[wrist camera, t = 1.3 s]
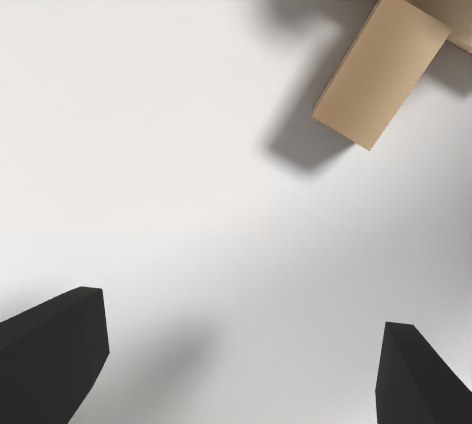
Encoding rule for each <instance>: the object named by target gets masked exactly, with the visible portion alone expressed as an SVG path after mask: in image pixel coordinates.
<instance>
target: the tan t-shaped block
mask: <svg viewBox="0 0 472 424" xmlns="http://www.w3.org/2000/svg"><path fill="white" fill-rule="evenodd" d="M445 40H448V41H449V42H451V43H453V44H454V45H456V46H458V47H460V48H461V49H463V50H465V51H466V52H468V53H470V54H472V0H378V1H377V3H376V4H375V6H374V8H373V9H372V11H371V13H370V14H369V16H368V18H367V19H366V21H365V23H364V24H363V26H362V28H361V29H360V31H359V33H358V34H357V36H356V38H355V39H354V41H353V43H352V44H351V46H350V48H349V49H348V51H347V53H346V54H345V56H344V58H343V59H342V61H341V63H340V64H339V66H338V68H337V69H336V71H335V73H334V74H333V76H332V78H331V79H330V81H329V83H328V84H327V86H326V88H325V89H324V91H323V93H322V94H321V96H320V98H319V99H318V101H317V103H316V104H315V106H314V108H313V111H312V115H311V117H312V118H314V119H316V120H317V121H319V122H321V123H323V124H324V125H326V126H328V127H329V128H331V129H333V130H335V131H336V132H338V133H340V134H341V135H343V136H345V137H347V138H348V139H350V140H352V141H353V142H355V143H357V144H359V145H360V146H362V147H364V148H365V149H367V150H369V151H370V150H371V148H372V147H373V145H374V144H375V143H376V141H377V140H378V138H379V137H380V135H381V134H382V132H383V131H384V129H385V128H386V126H387V125H388V124H389V122H390V121H391V119H392V118H393V116H394V115H395V113H396V112H397V110H398V109H399V108H400V106H401V105H402V103H403V102H404V100H405V99H406V97H407V96H408V94H409V93H410V92H411V90H412V89H413V87H414V86H415V84H416V83H417V81H418V80H419V78H420V77H421V75H422V74H423V73H424V71H425V70H426V68H427V67H428V65H429V64H430V62H431V61H432V59H433V58H434V57H435V55H436V54H437V52H438V51H439V49H440V48H441V46H442V45H443V43H444V42H445Z"/></svg>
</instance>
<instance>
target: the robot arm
mask: <svg viewBox="0 0 472 424" xmlns="http://www.w3.org/2000/svg"><path fill="white" fill-rule="evenodd" d="M109 353H110V352H109V343H108V334H107V326H106V317H105V308H104V299H103V291H102V289H99V288H90V287H82V286H81V287H78V288H76V289H73V290H70V291H68V292H66V293H63V294H61V295H59V296H57V297H54V298H52V299H50V300H48V301H46V302H44V303H42V304H39V305H37V306H35V307H33V308H31V309H29V310H27V311H25V312H22V313H20V314H18V315H16V316H14V317H12V318H10V319H7V320H5V321H3V322H1V323H0V424H68V422H69V421H70V419H71V418H72V416H73V415H74V413H75V412H76V410H77V409H78V408H79V406H80V405H81V403H82V402H83V400H84V399H85V397H86V396H87V394H88V393H89V391H90V390H91V388H92V387H93V385H94V383H95V381H96V379H97V377H98V375H99V373H100V372H101V370H102V367H103V365H104V363H105V361H106V359H107V357H108V355H109ZM375 394H376V410H377V423H378V424H472V392H471V391H470V390H469V389H468V388H467V387H466V386H465V385H464V383H463V382H462V381H461V380H460V379H459V378H458V377H457V376H456V375H455V374H454V372H453V371H452V370H451V369H450V368H449V367H448V366H447V364H446V363H445V362H444V361H443V360H442V358H441V357H440V356H439V355H438V354H437V353H436V351H435V350H434V349H433V348H432V347H431V345H430V344H429V343H428V342H427V341H426V339H425V338H424V337H423V336H422V335H421V333H420V332H419V331H418V330H417V329H416V328H415V326H414V325H410V324H402V323H393V322H386V324H385V330H384V337H383V343H382V350H381V357H380V363H379V370H378V376H377V383H376V390H375Z"/></svg>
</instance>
